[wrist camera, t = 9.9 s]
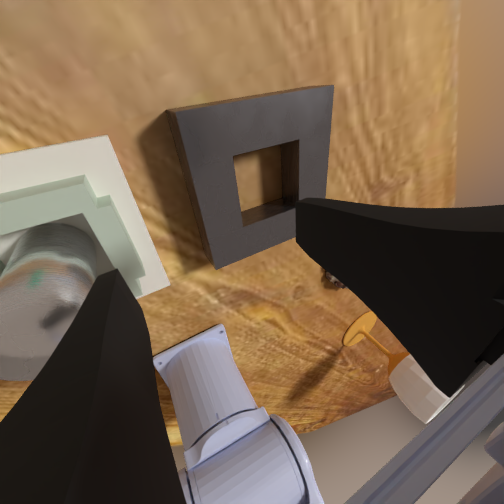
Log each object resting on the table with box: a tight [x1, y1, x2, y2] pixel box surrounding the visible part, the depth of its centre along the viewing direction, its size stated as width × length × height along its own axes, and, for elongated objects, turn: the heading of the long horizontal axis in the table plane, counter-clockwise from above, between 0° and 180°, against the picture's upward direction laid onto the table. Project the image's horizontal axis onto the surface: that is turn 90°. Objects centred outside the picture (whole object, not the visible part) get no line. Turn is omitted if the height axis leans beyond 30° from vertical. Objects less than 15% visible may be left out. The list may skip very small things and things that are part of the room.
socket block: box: [166, 85, 334, 270], centre depth 19 cm, size 12×12×2 cm
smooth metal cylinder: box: [0, 223, 97, 381], centre depth 13 cm, size 4×4×8 cm
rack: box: [0, 135, 170, 299], centre depth 15 cm, size 12×11×2 cm
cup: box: [343, 311, 464, 424], centre depth 42 cm, size 9×9×16 cm
